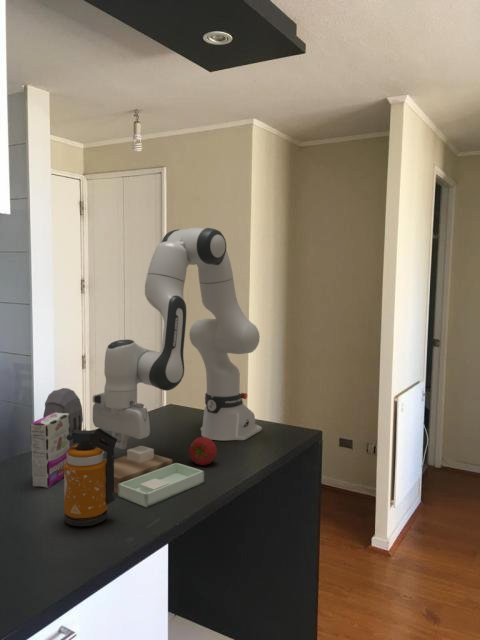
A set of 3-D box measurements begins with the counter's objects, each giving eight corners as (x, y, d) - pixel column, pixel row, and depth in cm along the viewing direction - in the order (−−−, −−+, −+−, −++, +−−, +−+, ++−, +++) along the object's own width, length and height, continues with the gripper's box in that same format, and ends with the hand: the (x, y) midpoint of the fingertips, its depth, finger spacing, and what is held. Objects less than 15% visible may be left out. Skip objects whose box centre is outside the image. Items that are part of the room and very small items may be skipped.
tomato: (207, 430, 159) (196, 432, 152) (225, 449, 157) (215, 452, 149) (190, 449, 160) (178, 452, 153) (207, 469, 158) (196, 473, 150)
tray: (176, 473, 148) (176, 462, 147) (204, 482, 141) (204, 471, 141) (117, 496, 132) (117, 484, 132) (146, 507, 126) (146, 494, 125)
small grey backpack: (65, 446, 169) (64, 382, 168) (90, 448, 168) (90, 384, 166) (39, 462, 155) (38, 392, 153) (66, 464, 153) (65, 394, 152)
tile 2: (141, 454, 151) (141, 445, 150) (153, 458, 148) (153, 449, 147) (127, 459, 147) (127, 449, 146) (139, 463, 144) (139, 453, 143)
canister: (70, 511, 123) (69, 424, 121) (119, 510, 124) (119, 423, 122) (59, 529, 114) (58, 435, 113) (113, 528, 115) (113, 435, 113)
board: (141, 464, 154) (141, 450, 154) (172, 474, 147) (172, 459, 147) (89, 482, 140) (88, 467, 140) (119, 494, 133) (119, 478, 133)
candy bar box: (54, 471, 148) (53, 411, 146) (71, 473, 147) (70, 413, 145) (30, 486, 137) (29, 422, 135) (48, 488, 136) (47, 423, 134)
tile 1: (169, 483, 133) (169, 493, 133) (155, 478, 136) (155, 488, 136) (154, 489, 129) (154, 499, 129) (139, 484, 132) (139, 494, 132)
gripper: (155, 402, 147) (155, 453, 148) (106, 392, 159) (106, 438, 160) (137, 406, 142) (137, 459, 143) (88, 395, 154) (88, 443, 155)
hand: (120, 448), depth 152 cm, fingers closed
